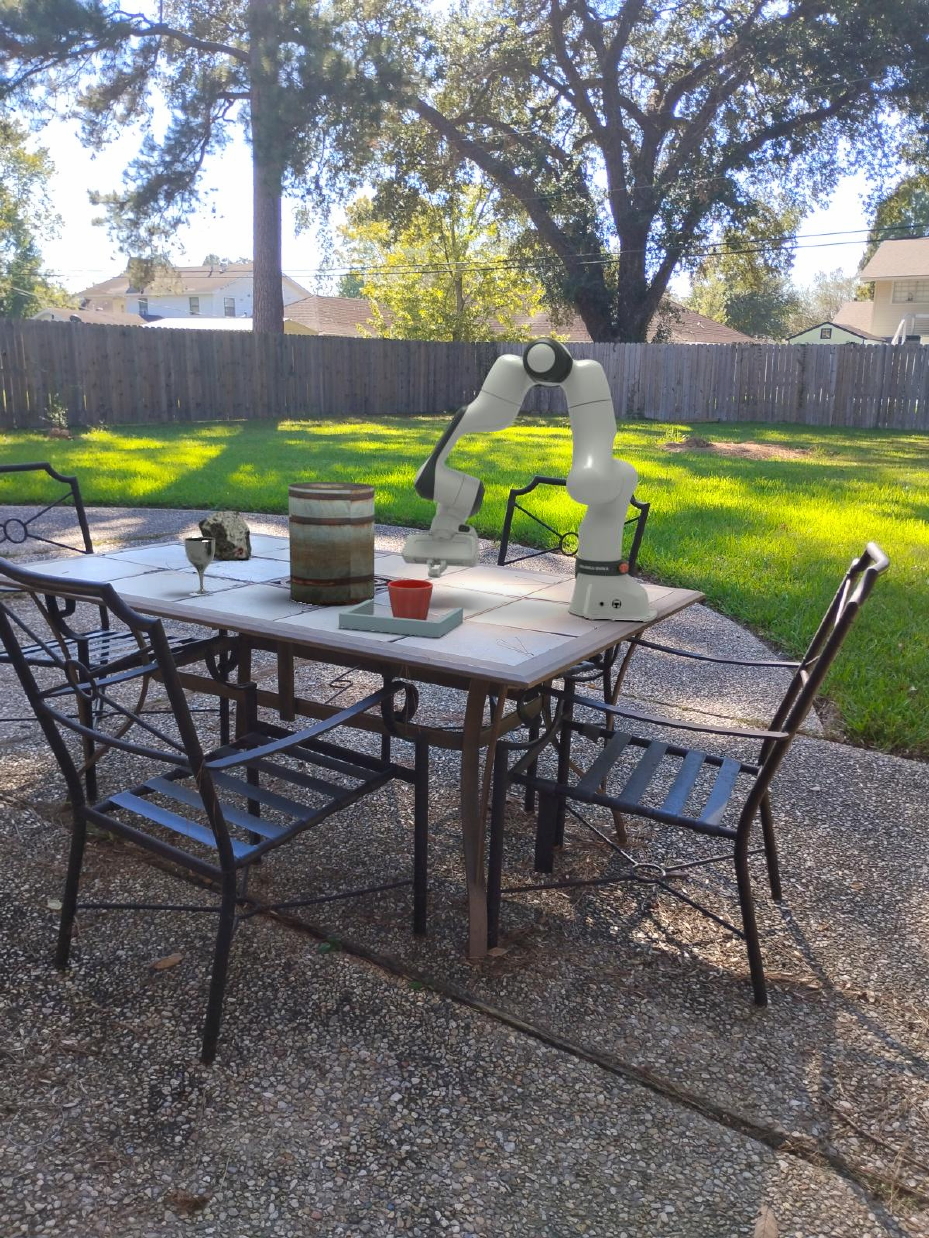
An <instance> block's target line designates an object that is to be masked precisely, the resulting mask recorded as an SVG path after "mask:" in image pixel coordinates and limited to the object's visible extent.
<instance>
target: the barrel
mask: <svg viewBox="0 0 929 1238" xmlns="http://www.w3.org/2000/svg"><path fill="white" fill-rule="evenodd" d="M288 527H289V528H288V530H289V531H288V534H289V535H288V536H289V537H288V538H289V583H290V585H289V588H290V589H289V591H290V592H289V593H290V594H289V595H290V600H291V599H292V600H294V601H296V602H295V603H297V602H302V603H306V604H312V605H311V606H314V605H318V606H317V607H347V606H348V607H349V606H356V605H358V604H360V603H362V602H364V601H366V600H372V599H373V600H374V599H375V485H373V484H370V483H361V482H351V481H350V482H347V481H308V482H296V483H290V484H288ZM292 600H291V601H292ZM294 601H293V602H294ZM306 604H305V605H306Z"/></svg>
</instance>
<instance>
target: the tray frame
mask: <svg viewBox="0 0 929 1238" xmlns="http://www.w3.org/2000/svg"><path fill="white" fill-rule="evenodd" d="M373 613H374V614H375V600H374V599H373V600H366V601H364V602H362V603H360V604H357V605H353V606H352V607H350V608H347V609H346V610H344V611H342V612H339V613H338V628H339V627H343V628H351V629H350V630H352V629H359V630H358V631H362V630H374V631H382V632H389V633H388V634H392V633H401V634H400V635H402V634H409V635H408V636H412V635H418V636H417V637H422V636H427V637H426V638H432V637H440V638H441V636H442V635H443V634H445V633H446V634H448V633H449V632H450V631H451V630H452V631H453V629H455V628H456V627H457V626H459V625H461V624H462V623H463V622H464V621H463V620H464V607H455V608H454V609H453V610H451V611H449V612H448V613H446V614H444V615H443V616H441V617H440V618H438V619H436V620H428V619H427V620H416V619H406V618H395V617H393V616H383V615H374V614H373ZM371 614H372V615H371ZM460 623H461V624H460ZM449 630H450V631H449ZM448 631H449V632H448ZM382 632H381V633H382ZM447 632H448V633H447ZM446 634H445V635H446ZM443 636H444V635H443ZM443 636H442V637H443Z"/></svg>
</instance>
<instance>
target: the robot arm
mask: <svg viewBox="0 0 929 1238" xmlns="http://www.w3.org/2000/svg"><path fill="white" fill-rule="evenodd" d="M533 386H535V387H546V388H557V387H559V388H560V387H561V388H562V389H563V392H564V395H565V398H566V404H567V411H568V415H569V423H570V428H571V429H570V430H571V434H572V435H571V436H572V458H571V469H570V471H569V472H568V475H567V477H566V482H565V483H566V484H565V486H566V491H567V494H568V495H569V497H570V498H571V499H572V500H573V501H574V502H576V503H577V504H578V503H579V504H581V505H584V506H587V508H586V512H585V515H584V516H583V520H582V521H581V522H580V523H579V528H578V538H577V539H578V540H577V544H578V545H577V556H576V557H575V562H574V578H575V581H574V583H575V584H574V590H573V593H572V598H571V601H570V605H569V607H568V612H569V613H571V614H573V615H576V616H579V617H582V616H584V617H586V618H592V619H591V620H594V619H640V621H643V622H642V623H645V622H646V623H647V622H651V621H653V620H655V619H656V618H658V617H657V616H658V611H657V609H655V608H654V607H650V601H649V596H648V591H647V590H646V588H644V586H642V585H641V584H640V583H639V582H637V581H636V580H635V579H634V578H633V577H632V576H631V575H629V566H630V565H629V563H630V562H629V561H628V560H627V561H626V560H624V559H623V558H622V545H623V536H624V535H623V532H624V525H625V521H626V519H627V518H626V517H627V513H628V511H629V507H630V502H631V499H632V496H633V494H634V492H635V491H636V490H637V488H638V484H639V474H638V472H637V469H636V468H635V466H633V465H632V464H631V463H629V462H627V461H625V460H622V459H619V458H613V455H614V454H613V453H614V450H613V449H614V442H615V438H616V436H617V433H618V430H617V429H618V427H617V422H616V416H615V411H614V405H613V399H612V395H611V389H610V386H609V381H608V379H607V376H606V373H605V370H604V367H603V365H602V364H600V363H599V362H598V361H596V360H594V359H580V360H579V359H578V360H575V358H574V356H573V354H572V352H571V351H570V350H569V348H568V347H566V346H565V344H563V343H561V342H560V341H558V340H556V339H554V338H552V337H547V336H546V337H544V336H543V337H539V338H536V339H534V340H532V341H531V342H530V343H528V344H527V346H526V347H525V349H524V351H523V354H522V356H520V355H516V354H510V353H508V354H507V353H506V354H503V355H501V356H499V357H498V358H497V359H496V361H495V362H494V364H493V365H492V367H491V369H490V371H489V372H488V374H487V376H486V378H485V380H484V381H483V385H482V387H481V390H480V391H479V394H478V396H477V397H476V398H475V399H474V400H473V401H472V402H471V403H469V404H468V405H462V406H461V407H460V408H459V409H458V410H457V412H456V413H455V414H454V415H453V417H452V418H451V421H450V422H449V423H448V425H447V426H446V428H445V429H444V431H443V433H442V435H441V436H440V438H439V439H438V441H437V443H436V445H435V446H434V448H433V450H432V451H431V453H430V455H429V456H428V458H427V459H426V460H425V462H424V463H423V464H422V465H421V467H420V468H419V469H418V471H417V472H416V475H415V478H414V481H413V482H414V483H413V488H414V490H415V491H416V493H417V495H418V496H419V498H420V499H423V500H427V501H430V502H435V503H437V505H436V507H435V508H436V509H435V510H436V512H435V515H434V517H433V518H432V522H431V526H430V528H429V532H419V531H416V532H413V533H410V534H408V536H407V538H406V541H405V544H404V547H403V548H402V550H401V557H402V559H403V561H404V563H406V564H413V565H427V567H428V572H427V576H428V578H434V579H440V578H441V576H442V574H443V573H444V572H445V571H446V570H447V569H448V567H466V568H474V567H475V566H477V565H478V562H479V556H480V550H479V544H480V541H479V536H478V533H477V531H476V529H475V527H474V526H470V525H467V524H466V521H467V520H468V519H471V518H472V517H474V516H475V515H477V514H478V513H479V512H480V510H481V509H482V505H483V501H484V496H485V493H486V489H485V486H484V483H483V481H482V480H481V479H479V478H478V477H475V476H473V475H470V474H468V473H465V472H462V471H459V470H458V469H454V468H452V467H450V466H446V464H445V461H446V460H447V458H448V456H449V455H450V453H451V452H452V450H453V449H454V446H456V443H457V442H458V441H459V439H460V438H461V437H463V435H466V434H469V433H494V432H496V433H497V432H500V431H503V430H506V429H508V428H509V427H510V426H511V425H513V423H514V422H515V420H516V418H517V416H518V414H519V412H520V410H521V407H522V404H523V402H524V399H525V396H526V395H527V393H528V392H529V390H530V389H531V388H532V387H533ZM435 566H438V568H434V567H435ZM584 617H583V618H584ZM586 618H585V619H586Z"/></svg>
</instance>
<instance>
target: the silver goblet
mask: <svg viewBox="0 0 929 1238" xmlns="http://www.w3.org/2000/svg"><path fill="white" fill-rule="evenodd" d="M184 551H185V554H186V555H185V556H186V558H187V561H188V562H189V563H190V564H191V565H192V566H193V567H194V569H195V570H196V572H197V574H198V579H199V589H198V590H196V591H194V592H195V593H197V594H204V593H208V592H210V591H211V590H206V589H204V575H205V571H206V569H207V568H208V567H209V566H210V564H211V563H212V562H213V560H214V558H215V556H214V554H215V538H212V537H203V536H191V537H185V538H184Z"/></svg>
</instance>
